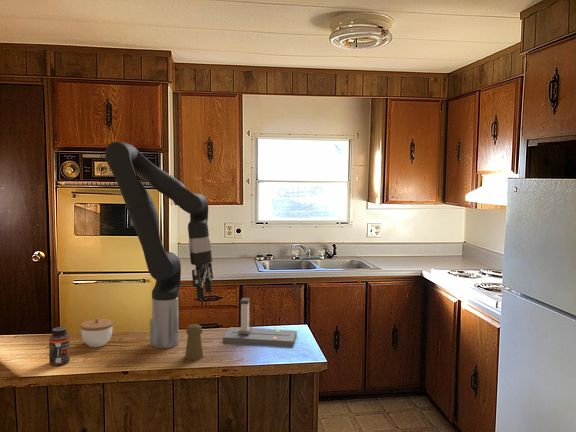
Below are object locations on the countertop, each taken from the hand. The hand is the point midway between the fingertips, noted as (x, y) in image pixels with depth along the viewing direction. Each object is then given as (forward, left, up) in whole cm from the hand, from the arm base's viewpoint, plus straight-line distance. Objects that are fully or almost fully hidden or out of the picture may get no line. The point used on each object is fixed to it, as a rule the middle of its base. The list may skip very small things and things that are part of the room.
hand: (204, 295), depth 170 cm
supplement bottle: (-42, -22, -19) cm, 51 cm away
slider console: (+18, +11, -19) cm, 28 cm away
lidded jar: (-39, -4, -19) cm, 43 cm away
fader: (+12, +11, -16) cm, 23 cm away
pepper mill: (-1, -10, -19) cm, 22 cm away
